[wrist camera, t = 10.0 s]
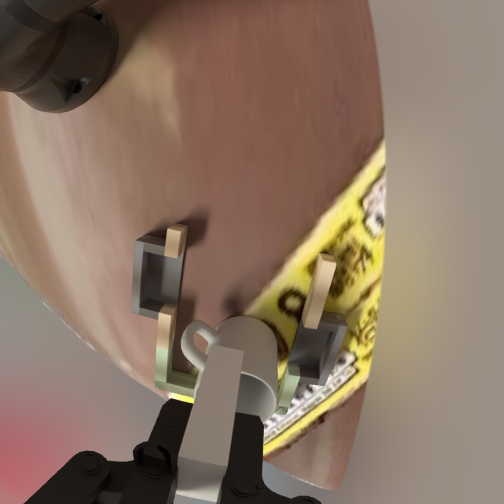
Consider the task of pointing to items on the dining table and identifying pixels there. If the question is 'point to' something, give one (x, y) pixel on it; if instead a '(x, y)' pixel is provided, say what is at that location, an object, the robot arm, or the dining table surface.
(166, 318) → the grey-green u-shaped bracket
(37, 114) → the dining table surface
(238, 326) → the mug
